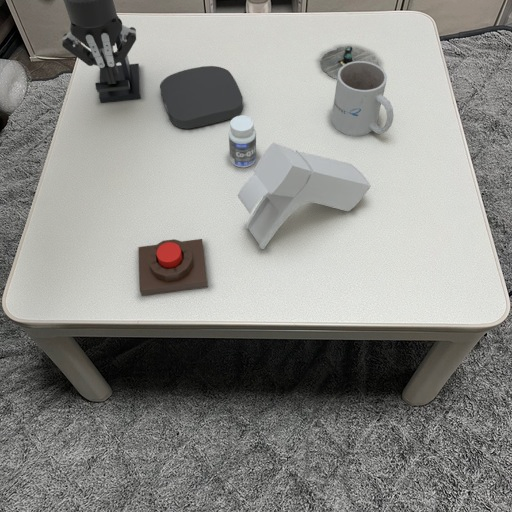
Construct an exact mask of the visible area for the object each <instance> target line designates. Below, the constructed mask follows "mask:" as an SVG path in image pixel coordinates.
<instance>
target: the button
mask: <svg viewBox="0 0 512 512" xmlns="http://www.w3.org/2000/svg"><path fill="white" fill-rule="evenodd" d="M157 258H158V261H159V263H160V265H161V266H162V267H164V268H174V267H176V266H178V265H179V264H180V263H181V261H182V253H181V249H180V247H179V246H178V245H177V244H175V243H172V242H168V243H164V244H162V245H161V246H160V247H159V248H158V250H157Z"/></svg>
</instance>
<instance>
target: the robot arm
mask: <svg viewBox="0 0 512 512" xmlns="http://www.w3.org/2000/svg"><path fill="white" fill-rule="evenodd" d="M63 4H64V6H65V9H66V13H67V15H68V18H69V21H70V28H69V31H68V33H64V34H63V35H62V40H61V41H62V43H61V44H62V48H64V49H65V50H66V51H68V52H69V53H70V54H72V55H74V56H75V57H76V58H77V59H79V60H80V61H81V62H83V63H84V64H86V65H87V66H89V67H92V66H97V67H98V68H99V72H100V71H101V75H102V78H103V80H104V81H105V82H108V84H116V80H118V79H119V72H118V69H117V66H118V63H119V64H121V63H122V62H123V61H124V60H125V58H126V56H128V54H129V53H130V51H131V49H132V48H133V46H134V44H135V43H136V41H137V29H136V28H135V27H133V26H131V27H127V26H126V25H124V24H123V22H122V20H121V18H120V17H119V16H118V14H117V9H116V6H115V2H114V0H63ZM120 33H122V40H123V41H122V42H121V44H120V46H119V48H118V49H117V48H116V51H114V45H115V46H116V41H117V39H118V37H119V35H120ZM102 48H103V49H104V52H105V55H104V53H103V50H102ZM105 56H106V59H107V60H106V59H105Z"/></svg>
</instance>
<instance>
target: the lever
mask: <svg viewBox="0 0 512 512" xmlns="http://www.w3.org/2000/svg"><path fill="white" fill-rule="evenodd" d="M114 46H116V44H115V45H114ZM114 46H113V47H114ZM94 84H95V90H96V92H97V93H99V92H108V91H117V90H126V89H130V84H129V81H128V80H119V81H116V84H108V82H100V81H99V82H95V83H94Z"/></svg>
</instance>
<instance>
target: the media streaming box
mask: <svg viewBox="0 0 512 512" xmlns="http://www.w3.org/2000/svg"><path fill="white" fill-rule="evenodd" d="M159 91H160V95H161V98H162V102H163V104H164V108H165V110H166V113H167V115H168V117H169V119H170V121H171V123H172V125H174V126H176V127H177V128H180V129H195V128H199V127H204V126H207V125H213V124H216V123H221V122H224V121H228V120H232V119H233V118H234V117H236V116H240V114H241V113H242V112H243V108H244V101H243V94H242V92H241V89H240V87H239V84H238V83H237V81H236V79H235V78H234V76H233V74H232V73H231V72H230V71H229V70H228V69H227V68H224V67H221V66H215V65H205V66H198V67H192V68H187V69H184V70H180V71H178V72H174V73H172V74H170V75H168V76H166V77H165V78H164V79H163V80H162V81H161V82H160V84H159Z"/></svg>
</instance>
